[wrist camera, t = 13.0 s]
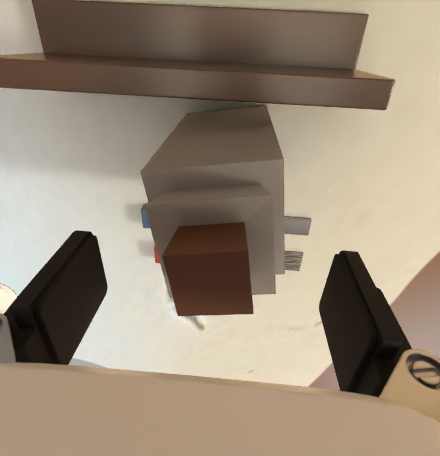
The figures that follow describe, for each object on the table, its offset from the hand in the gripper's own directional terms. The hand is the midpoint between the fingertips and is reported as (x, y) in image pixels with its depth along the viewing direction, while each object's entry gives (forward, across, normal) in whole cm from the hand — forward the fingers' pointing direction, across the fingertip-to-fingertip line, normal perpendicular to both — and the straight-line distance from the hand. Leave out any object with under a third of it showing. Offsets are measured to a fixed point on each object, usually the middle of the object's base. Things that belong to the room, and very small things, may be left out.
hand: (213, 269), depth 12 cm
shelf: (+18, +3, -7) cm, 19 cm away
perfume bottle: (+18, 0, +1) cm, 18 cm away
